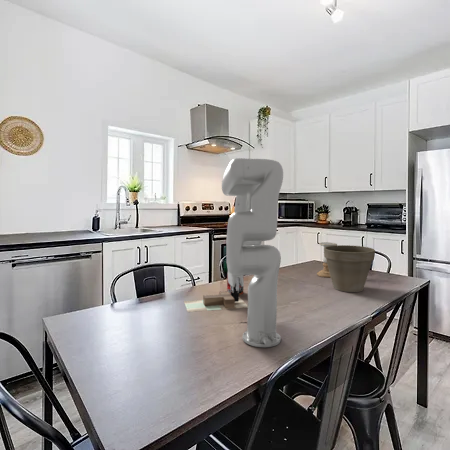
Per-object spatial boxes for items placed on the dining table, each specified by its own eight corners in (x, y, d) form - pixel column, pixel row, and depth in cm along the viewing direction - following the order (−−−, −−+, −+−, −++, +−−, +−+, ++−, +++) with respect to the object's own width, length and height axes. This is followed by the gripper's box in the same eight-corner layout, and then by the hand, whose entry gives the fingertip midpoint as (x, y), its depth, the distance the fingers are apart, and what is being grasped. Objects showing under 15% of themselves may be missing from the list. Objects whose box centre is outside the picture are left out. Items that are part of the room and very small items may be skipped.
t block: (234, 307, 133) (234, 299, 133) (206, 309, 131) (206, 301, 130) (227, 298, 145) (227, 291, 145) (201, 300, 142) (201, 292, 142)
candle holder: (312, 274, 201) (313, 242, 200) (329, 272, 205) (330, 241, 203) (324, 278, 190) (325, 245, 188) (341, 277, 193) (343, 244, 192)
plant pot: (324, 293, 159) (325, 250, 157) (321, 281, 183) (322, 244, 181) (378, 297, 153) (380, 252, 151) (368, 284, 177) (369, 245, 175)
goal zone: (221, 312, 131) (221, 309, 131) (187, 314, 128) (187, 312, 127) (214, 301, 144) (214, 299, 144) (183, 303, 141) (183, 301, 141)
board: (249, 310, 134) (249, 307, 134) (187, 314, 128) (187, 312, 127) (239, 299, 147) (239, 297, 147) (183, 303, 141) (183, 301, 141)
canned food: (242, 297, 151) (242, 275, 150) (225, 296, 152) (225, 274, 151) (244, 293, 158) (244, 271, 157) (228, 292, 160) (228, 270, 159)
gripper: (248, 262, 132) (247, 306, 133) (238, 256, 146) (238, 295, 148) (230, 263, 130) (230, 307, 131) (222, 257, 144) (222, 296, 146)
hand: (234, 301), depth 139 cm, fingers closed
